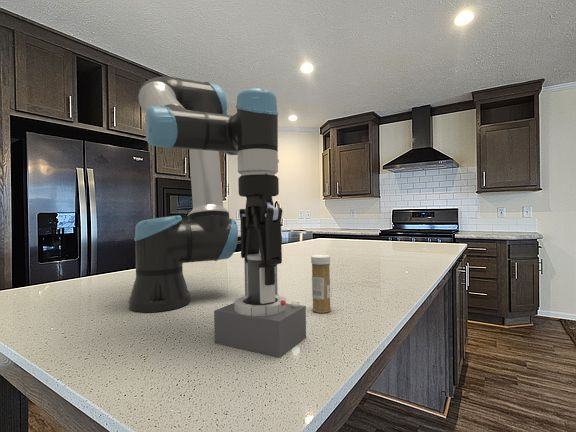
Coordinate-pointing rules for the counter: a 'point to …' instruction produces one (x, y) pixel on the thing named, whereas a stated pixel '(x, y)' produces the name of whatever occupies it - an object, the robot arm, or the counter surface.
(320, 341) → the counter surface
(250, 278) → the grey cylinder
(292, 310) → the grey block with ring
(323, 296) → the sprinkles bottle
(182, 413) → the counter surface
